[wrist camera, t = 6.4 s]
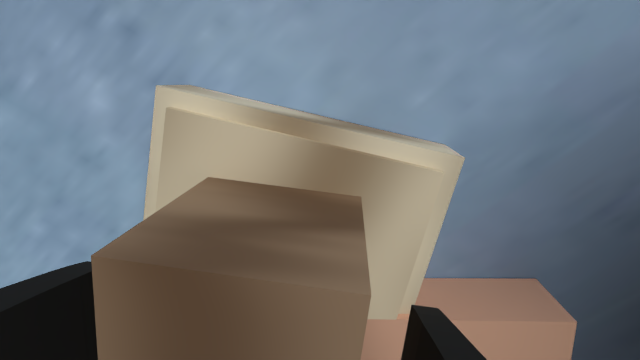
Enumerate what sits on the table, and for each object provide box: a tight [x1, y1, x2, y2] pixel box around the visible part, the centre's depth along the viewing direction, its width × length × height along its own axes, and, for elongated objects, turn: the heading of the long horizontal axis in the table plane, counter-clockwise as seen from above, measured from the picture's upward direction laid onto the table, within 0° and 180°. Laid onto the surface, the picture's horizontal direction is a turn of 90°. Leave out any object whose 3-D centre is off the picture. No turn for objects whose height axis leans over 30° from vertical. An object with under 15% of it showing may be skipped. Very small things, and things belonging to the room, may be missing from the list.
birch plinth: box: [143, 85, 465, 320], centre depth 12 cm, size 9×9×2 cm
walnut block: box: [91, 177, 371, 360], centre depth 9 cm, size 4×4×5 cm
